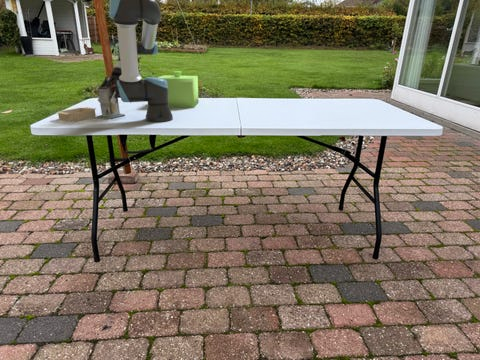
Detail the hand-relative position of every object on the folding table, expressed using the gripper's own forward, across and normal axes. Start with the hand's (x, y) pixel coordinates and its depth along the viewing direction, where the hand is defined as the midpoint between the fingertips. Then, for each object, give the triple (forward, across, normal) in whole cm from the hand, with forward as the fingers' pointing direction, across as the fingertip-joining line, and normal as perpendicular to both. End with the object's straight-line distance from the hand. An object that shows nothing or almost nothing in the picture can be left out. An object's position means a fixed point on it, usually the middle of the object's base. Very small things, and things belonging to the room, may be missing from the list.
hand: (105, 102), depth 198 cm
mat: (+4, 0, -9) cm, 10 cm away
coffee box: (+3, 0, -8) cm, 9 cm away
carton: (+12, +15, -1) cm, 19 cm away
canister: (-33, -17, -46) cm, 60 cm away
